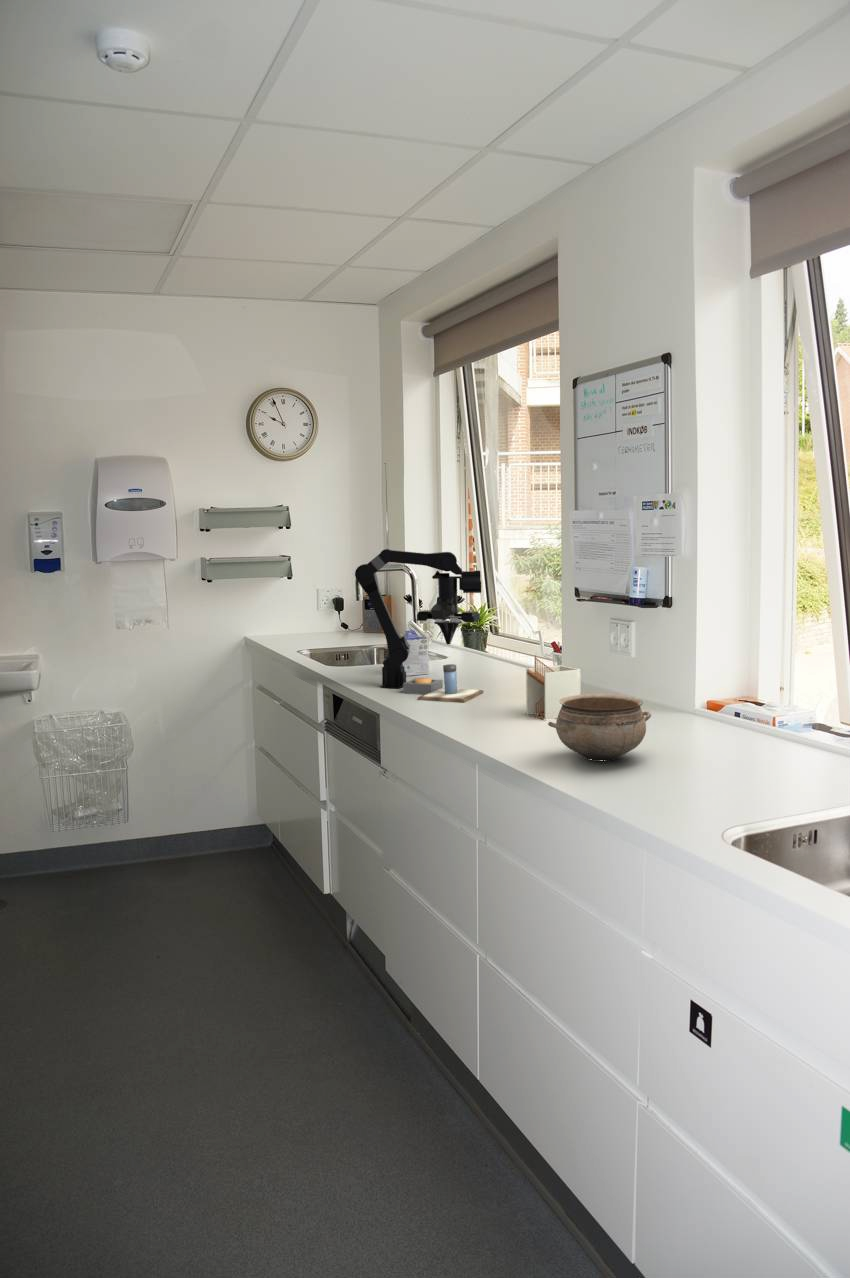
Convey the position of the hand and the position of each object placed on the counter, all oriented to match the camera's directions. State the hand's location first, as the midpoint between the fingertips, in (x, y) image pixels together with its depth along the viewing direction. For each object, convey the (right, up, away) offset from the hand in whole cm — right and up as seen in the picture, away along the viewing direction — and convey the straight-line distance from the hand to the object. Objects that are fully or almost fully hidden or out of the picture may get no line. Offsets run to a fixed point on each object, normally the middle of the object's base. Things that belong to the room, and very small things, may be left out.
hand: (448, 644), depth 301 cm
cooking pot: (+30, -24, -91) cm, 99 cm away
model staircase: (+26, -19, -45) cm, 55 cm away
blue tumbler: (0, -14, -16) cm, 21 cm away
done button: (-8, -12, -7) cm, 16 cm away
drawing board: (0, -15, -16) cm, 22 cm away
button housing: (-8, -14, -7) cm, 17 cm away
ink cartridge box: (-11, -10, +26) cm, 30 cm away
